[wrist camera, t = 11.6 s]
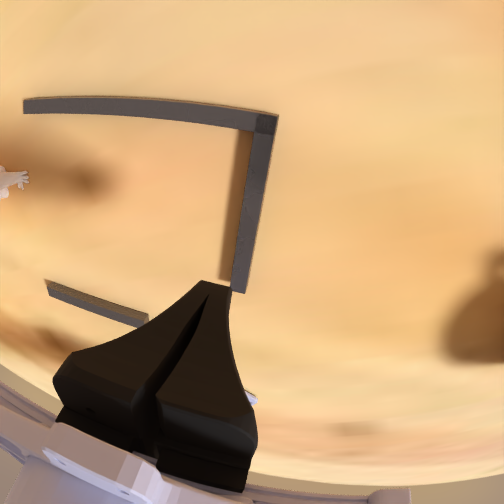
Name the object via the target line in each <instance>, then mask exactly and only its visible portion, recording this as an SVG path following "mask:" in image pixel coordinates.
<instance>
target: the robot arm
mask: <svg viewBox="0 0 504 504" xmlns="http://www.w3.org/2000/svg"><path fill="white" fill-rule="evenodd" d="M231 296H232V289H231V287H228V286H224V285H220V284H215V283H211V282H207V281H203V280H201V281H199V282H198V283H197V284H196V285H195V286H194V287H193V288H192V289H191V290H190V291H188V292H187V293H186V294H185V295H184V296H183V297H182V298H180V299H179V300H178V301H177V302H175V303H174V304H173V305H172V306H170V307H169V308H168V309H166V310H165V311H164V312H162V313H161V314H159V315H158V316H157V317H155V318H154V319H152V320H151V321H149V322H147V323H146V324H144V325H142V326H141V327H139V328H137V329H135V330H133V331H131V332H129V333H127V334H125V335H123V336H121V337H119V338H117V339H114V340H112V341H109V342H106V343H104V344H101V345H98V346H95V347H91V348H87V349H83V350H80V351H76V352H72V353H71V354H70V355H69V356H68V358H67V359H66V360H65V361H64V362H63V364H62V365H61V367H60V368H59V370H58V371H57V372H56V374H55V375H54V377H53V385H54V388H55V390H56V392H57V394H58V396H59V398H60V399H61V401H62V403H63V405H64V407H63V408H62V410H61V411H60V413H59V415H58V416H57V415H55V414H53V413H51V412H49V411H48V410H46V409H44V408H42V407H41V406H39V405H37V404H36V403H34V402H32V401H30V400H29V399H27V398H25V397H24V396H22V395H21V394H19V393H18V392H16V391H14V390H13V389H11V388H10V387H8V386H7V385H5V384H4V383H2V382H1V381H0V447H1V448H2V449H3V450H5V451H6V452H7V453H8V454H10V455H11V456H12V457H14V458H15V459H16V460H18V461H19V462H21V463H22V464H23V465H24V466H23V467H22V469H21V471H20V473H19V475H18V477H17V479H16V481H15V482H14V484H13V486H12V488H11V490H10V492H9V494H8V496H7V498H6V500H5V502H4V504H411V490H410V488H390V489H388V488H387V489H380V490H376V491H374V492H373V493H371V494H370V495H369V496H364V495H363V496H362V495H334V494H320V493H308V492H299V491H291V490H284V489H276V488H270V487H264V486H258V485H253V484H247V483H246V480H247V475H248V470H249V468H250V464H251V460H252V457H253V455H254V453H255V451H256V448H257V445H258V433H257V425H256V420H255V415H254V410H253V408H252V405H254V404H256V403H257V401H258V398H256V397H255V396H253V395H251V394H250V393H248V392H246V391H245V390H244V388H243V385H242V383H241V380H240V377H239V374H238V370H237V367H236V364H235V360H234V356H233V351H232V346H231V339H230V331H229V309H230V303H231Z"/></svg>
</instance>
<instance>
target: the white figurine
mask: <svg viewBox="0 0 504 504" xmlns="http://www.w3.org/2000/svg"><path fill="white" fill-rule="evenodd" d="M27 173H28V172H27V171H22V172H6V170H5V168H4V167H3V166H0V199H1V198H7V197H8V195H9V191H8V188H7V187H9V186H11V185H14V184H16V183H17V184H18V188H19V189H20V187H21V189H23V188H24V186H23V182H24V183H27V184H28V183H30V182H29V181H28V180H26V179H28V178H29V177H28V176H25V175H24V174H27Z"/></svg>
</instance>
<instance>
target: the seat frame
mask: <svg viewBox="0 0 504 504" xmlns="http://www.w3.org/2000/svg"><path fill="white" fill-rule="evenodd" d="M46 113H65V114H101V115H119V116H134V117H146V118H157V119H167V120H176V121H184V122H192V123H200V124H207V125H214V126H221V127H227V128H233V129H239V130H245V131H251V132H254V136H253V142H252V148H251V154H250V161H249V167H248V173H247V179H246V185H245V192H244V198H243V204H242V211H241V217H240V223H239V230H238V236H237V243H236V249H235V256H234V263H233V269H232V276H231V283H230V287H231V289H232V291H234V292H239V293H243V294H245V292H246V289H247V285H248V280H249V275H250V269H251V264H252V259H253V253H254V248H255V243H256V237H257V232H258V227H259V221H260V216H261V211H262V205H263V200H264V195H265V189H266V184H267V178H268V173H269V168H270V162H271V157H272V152H273V146H274V141H275V135H276V130H277V125H278V119H279V115H277V114H272V113H266V112H261V111H255V110H249V109H243V108H236V107H229V106H222V105H215V104H207V103H198V102H189V101H179V100H168V99H155V98H138V97H111V96H71V97H45V98H31V99H27V100H24V114H46ZM47 289H48V293H49V296H51V297H54V298H56V299H59V300H61V301H64V302H66V303H69V304H72V305H74V306H77V307H79V308H82V309H85V310H88V311H90V312H93V313H96V314H98V315H101V316H104V317H107V318H110V319H113V320H116V321H118V322H121V323H124V324H127V325H130V326H133V327H136V328H139V327H141V326H142V325H144V324H146V323H147V322H149V318H148V314H146V313H142V312H139V311H136V310H133V309H130V308H126V307H123V306H120V305H117V304H114V303H111V302H108V301H105V300H102V299H99V298H96V297H93V296H90V295H88V294H85V293H82V292H79V291H76V290H73V289H71V288H68V287H65V286H63V285H60V284H57V283H55V282H51V283H50V284H49V285H48V286H47Z"/></svg>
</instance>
